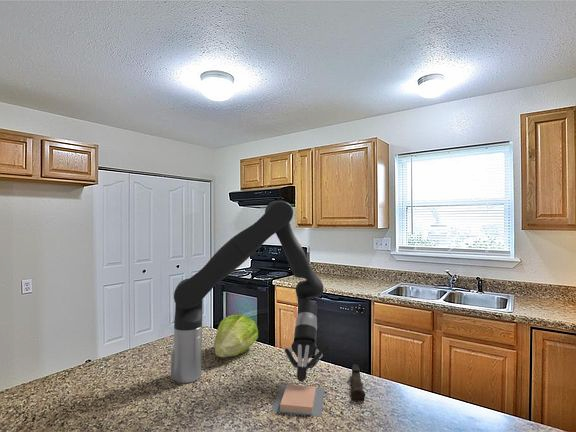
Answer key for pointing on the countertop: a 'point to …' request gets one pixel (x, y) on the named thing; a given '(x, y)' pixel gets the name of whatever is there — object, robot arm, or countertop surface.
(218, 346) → the lettuce
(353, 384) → the hand tool
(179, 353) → the robot arm
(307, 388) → the tile
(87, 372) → the countertop surface
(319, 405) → the mat
